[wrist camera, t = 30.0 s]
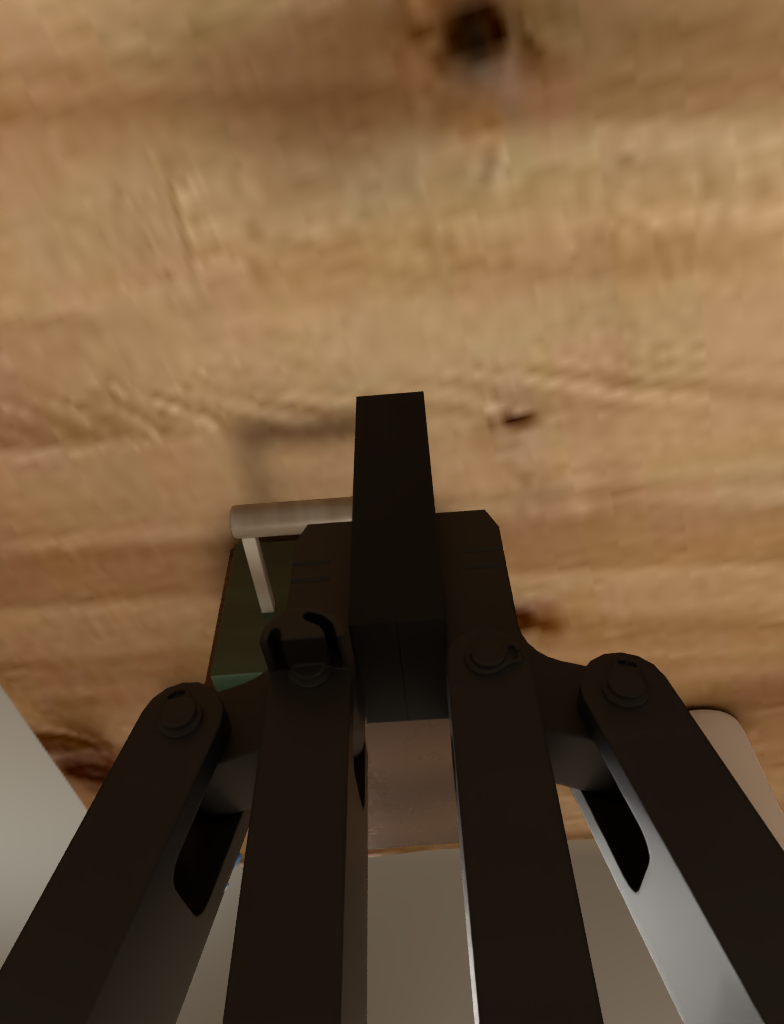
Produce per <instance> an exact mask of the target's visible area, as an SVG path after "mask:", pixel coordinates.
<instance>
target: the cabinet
mask: <svg viewBox="0 0 784 1024" xmlns="http://www.w3.org/2000/svg"><path fill="white" fill-rule="evenodd" d="M233 553H234V549H232V550H231V551H230V556H229V562H228V567H227V572H226V577H225V583H224V588H223V593H222V598H221V603H220V609H219V614H218V619H217V624H216V630H215V635H214V640H213V645H212V650H211V656H210V661H209V666H208V671H207V676H206V682H205V685H207V686H210V687H212V688H213V689H214V690H215V691H216V689H215V687H214V684H213V681H212V679H211V671H212V666H213V660H214V655H215V650H216V644H217V639H218V634H219V628H220V623H221V617H222V612H223V607H224V601H225V596H226V591H227V585H228V580H229V575H230V569H231V564H232V559H233ZM216 693H218V692H217V691H216ZM365 740H366V745H367V750H368V849H378V848H393V847H408V846H422V845H437V844H452V843H459V834H458V822H457V811H456V799H455V788H454V776H453V771H452V756H451V737H450V724H449V718H447V719H431V720H415V721H399V722H383V723H367V721H366V716H365Z"/></svg>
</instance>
